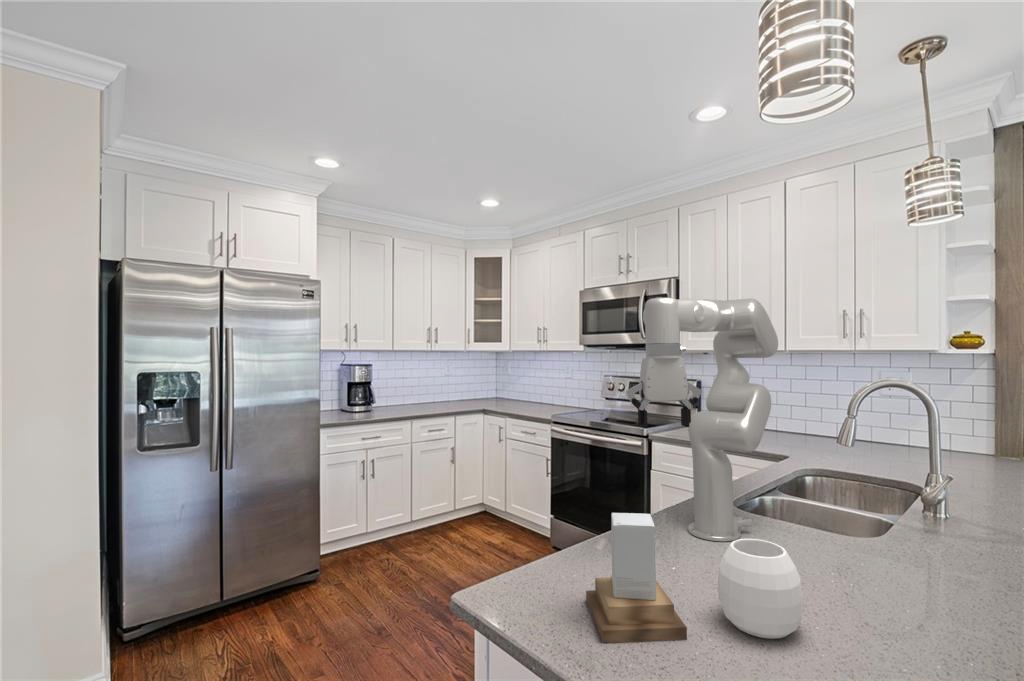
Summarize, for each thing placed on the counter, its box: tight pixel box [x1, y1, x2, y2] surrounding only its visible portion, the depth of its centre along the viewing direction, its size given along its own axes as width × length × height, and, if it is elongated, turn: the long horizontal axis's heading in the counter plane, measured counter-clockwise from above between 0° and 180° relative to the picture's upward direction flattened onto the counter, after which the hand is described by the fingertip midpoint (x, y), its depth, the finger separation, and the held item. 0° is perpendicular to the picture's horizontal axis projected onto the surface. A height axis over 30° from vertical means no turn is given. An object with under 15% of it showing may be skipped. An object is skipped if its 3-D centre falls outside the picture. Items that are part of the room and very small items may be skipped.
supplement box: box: [610, 512, 657, 600], centre depth 90 cm, size 7×7×13 cm
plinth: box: [585, 576, 688, 644], centre depth 90 cm, size 14×14×5 cm
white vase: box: [717, 538, 804, 640], centre depth 87 cm, size 13×13×14 cm
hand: (664, 426), depth 115 cm, fingers open, 9 cm apart
